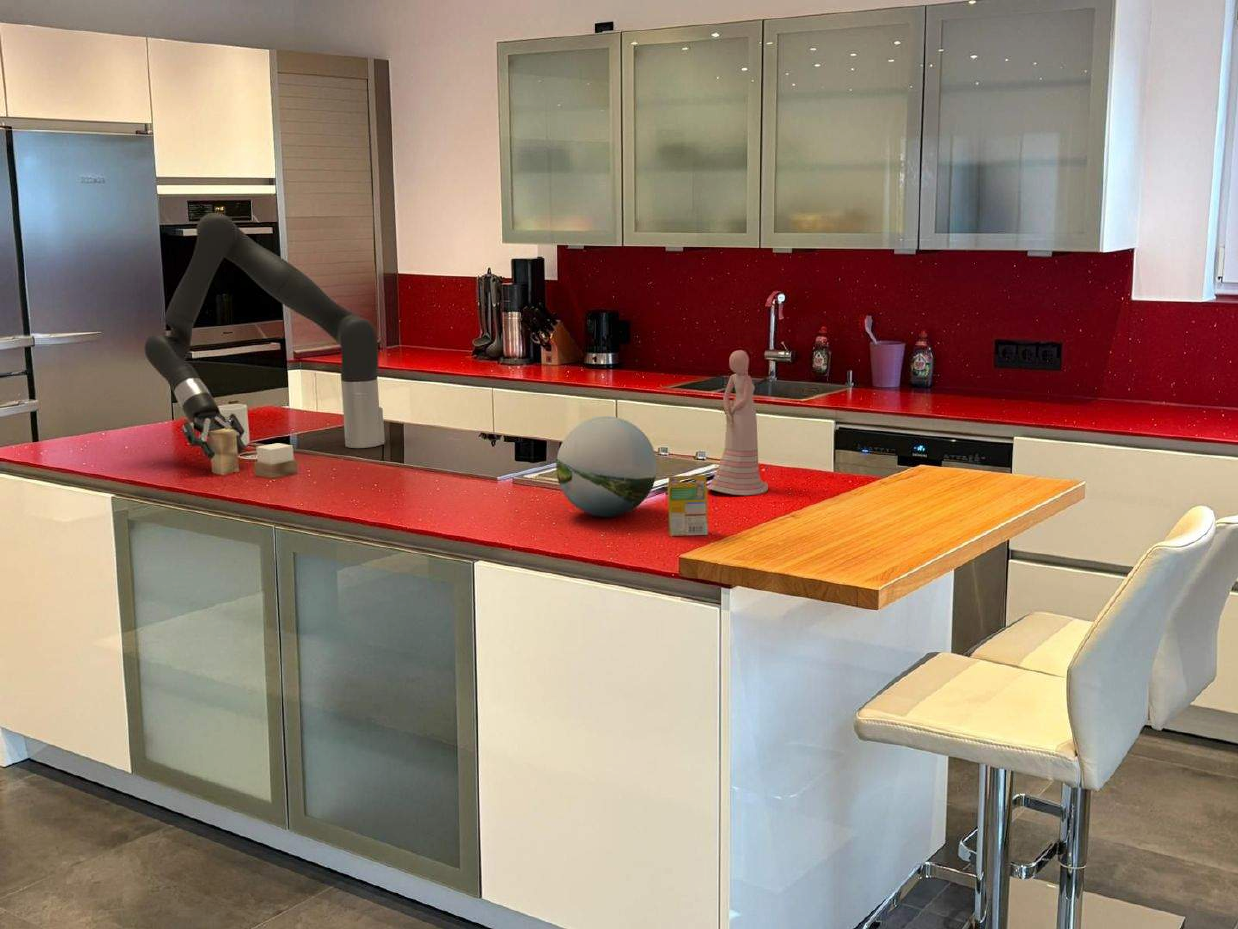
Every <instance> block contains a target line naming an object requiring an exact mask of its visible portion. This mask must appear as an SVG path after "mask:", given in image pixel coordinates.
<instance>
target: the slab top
mask: <svg viewBox="0 0 1238 929" xmlns="http://www.w3.org/2000/svg"><path fill="white" fill-rule="evenodd" d="M256 459H257V461H258V462H262V463H267V464H271V465H272V464H277V463H283V462H288V461H293V460H295V457H294V447H293V445H292V444H291V445H290V444H286V443H281V442H280V443H279V442H278V443H277V442H276V443H272V444H266V445H259V446H256Z"/></svg>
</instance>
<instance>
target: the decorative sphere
mask: <svg viewBox="0 0 1238 929" xmlns="http://www.w3.org/2000/svg"><path fill="white" fill-rule="evenodd" d="M657 463H658V462H657V457H656V452H655V450H654V447H653V445H652V443H651V441H650V439H649V438H648V437H647V435H646V434H645V433H644V432H643V431H642V430H641V429H640V428H639V427H637V425H635V424H634V423H632V422H630V421H628V420H626V419H623V418H620V417H616V416H598V417H593V418H590V419H588V420H585V421H583V422H581V423H579V424H578V425H577V426H575V427H574V428H573V429H571V431H569V433H567V435H566V436H565V438H564V439H563V440H562V442H561V445H560V447H559V449H558V452H557V457H556V462H555V464H556V465H555V467H556V470H555V471H556V478H557V482H558V484H559V488H560V489H561V491H562V493H563V494H564V497H566V499H567V500H568V501H569V502H570V503H571V504H572V505H573V506H574V507H576V508H577V509H578V510H580V511H581V512H584V513H585V514H588V515H592V516H595V517H600V518H612V517H613V518H614V517H619V516H623V515H625V514H628V513H630V512H632V511H633V510H635V509H636V508H637V507H639V506H640V505H641V504H642V503H643V502H644V501H645V500H646V499H647V497H648V496H649V494H650V493H651V491H652V489H653V487H654V483H655V482H656V477H657V470H658V464H657Z"/></svg>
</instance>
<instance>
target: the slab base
mask: <svg viewBox="0 0 1238 929" xmlns="http://www.w3.org/2000/svg"><path fill="white" fill-rule="evenodd" d="M297 461H298V460H296V459H294V460H293V461H288V462H283V463H277V464H272V465H271V464H267V463H262V462H258V461H254V462H253V465H254V475H255V476H258V477H262V478H267V479H271V480H272V479H278V478H281V477H282V478H283V477H287V476H293V475H296V474H298V462H297Z"/></svg>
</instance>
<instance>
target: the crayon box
mask: <svg viewBox="0 0 1238 929" xmlns="http://www.w3.org/2000/svg"><path fill="white" fill-rule="evenodd" d="M707 478H708V476H707V474H699V475H698V474H695V475H674V476H672V475H669V476H668V483H667V511H668V512H667V515H668V535H669V537H672V538H673V537H680V536H682V537H683V536H684V537H685V536H708V535H709V525H708V523H709V521H708V519H709V518H708V517H709V516H708V510H709V509H708V489H707V488H708V485H707ZM686 479H689V480H695V481H691V482H685V481H684V482H683V481H682V482H681V480H686Z"/></svg>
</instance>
